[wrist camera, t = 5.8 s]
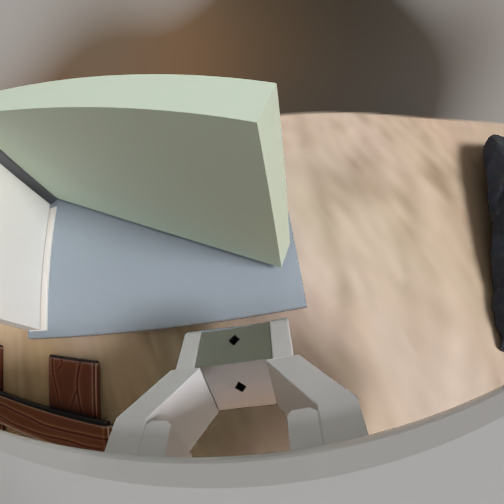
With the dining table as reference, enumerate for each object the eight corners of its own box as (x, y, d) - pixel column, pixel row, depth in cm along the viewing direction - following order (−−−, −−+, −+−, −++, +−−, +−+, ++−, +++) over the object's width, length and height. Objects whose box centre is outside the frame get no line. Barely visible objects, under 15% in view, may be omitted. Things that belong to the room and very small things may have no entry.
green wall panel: (56, 197, 17) (-36, 115, 9) (65, 182, 18) (-22, 95, 9) (281, 267, 14) (256, 122, 6) (289, 243, 14) (276, 83, 6)
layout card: (306, 307, 14) (306, 305, 14) (32, 339, 15) (27, 338, 15) (267, 123, 18) (266, 117, 18) (48, 184, 19) (44, 181, 19)
